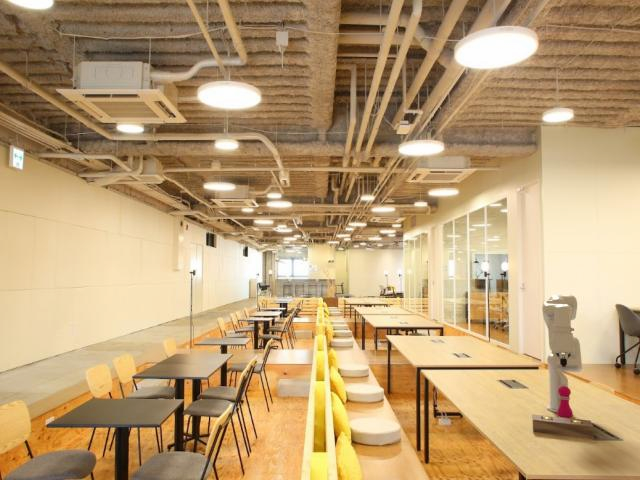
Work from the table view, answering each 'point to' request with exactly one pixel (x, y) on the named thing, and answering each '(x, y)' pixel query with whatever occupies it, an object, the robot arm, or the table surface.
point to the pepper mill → (564, 402)
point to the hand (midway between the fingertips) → (563, 366)
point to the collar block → (563, 427)
